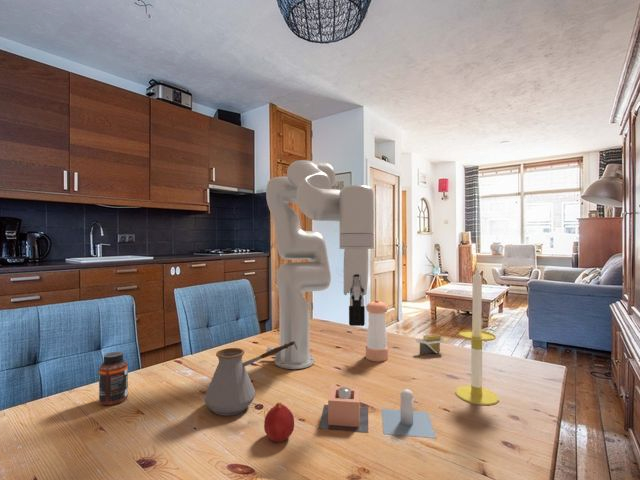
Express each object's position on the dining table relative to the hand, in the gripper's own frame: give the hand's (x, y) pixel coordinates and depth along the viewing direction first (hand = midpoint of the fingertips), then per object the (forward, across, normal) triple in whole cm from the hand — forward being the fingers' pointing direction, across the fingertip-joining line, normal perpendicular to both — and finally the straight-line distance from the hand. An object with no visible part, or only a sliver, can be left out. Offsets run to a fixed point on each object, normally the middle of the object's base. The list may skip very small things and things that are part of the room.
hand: (356, 319), depth 75 cm
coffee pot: (+22, -2, -25) cm, 33 cm away
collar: (+20, +2, -3) cm, 21 cm away
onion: (+22, +11, -15) cm, 28 cm away
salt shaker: (+21, -38, +6) cm, 44 cm away
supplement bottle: (+21, -1, -59) cm, 62 cm away
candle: (+22, -14, +30) cm, 39 cm away
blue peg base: (+22, +3, +10) cm, 24 cm away
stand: (+21, +2, -3) cm, 22 cm away
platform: (+22, -45, +25) cm, 56 cm away
